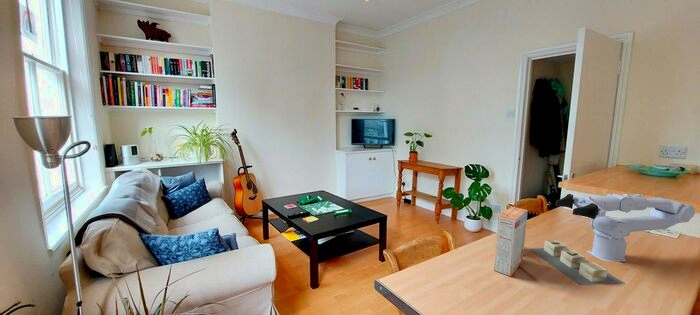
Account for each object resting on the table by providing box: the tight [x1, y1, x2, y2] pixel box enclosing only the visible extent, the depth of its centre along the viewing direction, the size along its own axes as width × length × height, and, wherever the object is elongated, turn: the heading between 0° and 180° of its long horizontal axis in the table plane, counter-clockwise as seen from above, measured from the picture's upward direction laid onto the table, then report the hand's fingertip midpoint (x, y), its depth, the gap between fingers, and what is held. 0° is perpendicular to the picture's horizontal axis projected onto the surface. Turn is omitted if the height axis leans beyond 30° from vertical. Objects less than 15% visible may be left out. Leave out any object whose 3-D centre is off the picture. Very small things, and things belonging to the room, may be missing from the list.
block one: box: [543, 239, 567, 256], centre depth 115 cm, size 5×5×4 cm
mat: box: [528, 247, 626, 286], centre depth 107 cm, size 16×25×1 cm, turn 4°
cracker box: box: [493, 206, 528, 277], centre depth 105 cm, size 14×6×21 cm, turn 134°
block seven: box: [560, 250, 586, 268], centre depth 107 cm, size 5×5×4 cm
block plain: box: [579, 261, 608, 282], centre depth 99 cm, size 5×5×4 cm
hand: (564, 207), depth 108 cm, fingers open, 7 cm apart
